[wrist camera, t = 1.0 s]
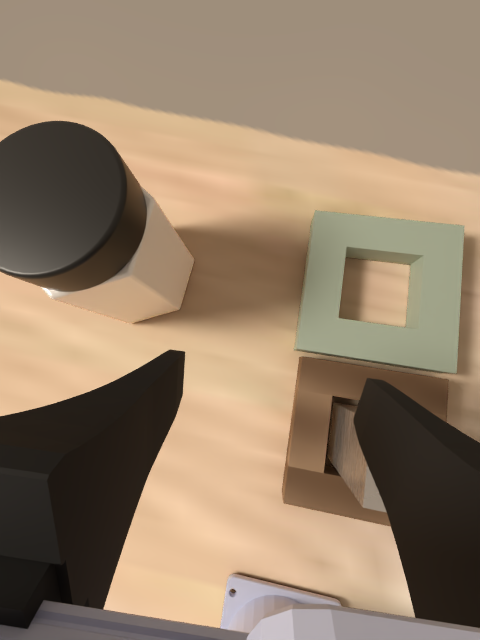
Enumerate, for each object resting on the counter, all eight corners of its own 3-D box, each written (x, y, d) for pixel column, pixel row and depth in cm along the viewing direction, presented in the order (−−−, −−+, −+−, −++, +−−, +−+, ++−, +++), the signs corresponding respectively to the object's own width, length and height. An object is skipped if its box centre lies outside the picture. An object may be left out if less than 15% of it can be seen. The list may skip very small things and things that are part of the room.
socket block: (423, 520, 20) (439, 536, 18) (281, 490, 22) (283, 503, 20) (432, 378, 22) (448, 379, 20) (299, 357, 23) (302, 356, 21)
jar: (184, 218, 26) (115, 93, 14) (206, 304, 24) (150, 244, 13) (89, 247, 26) (-55, 148, 14) (106, 333, 25) (-39, 302, 13)
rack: (439, 373, 22) (456, 373, 20) (294, 350, 23) (296, 348, 21) (447, 237, 23) (464, 225, 22) (311, 222, 25) (315, 210, 23)
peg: (382, 467, 21) (451, 526, 13) (327, 456, 22) (362, 507, 14) (387, 411, 22) (456, 436, 14) (333, 402, 22) (370, 421, 14)
